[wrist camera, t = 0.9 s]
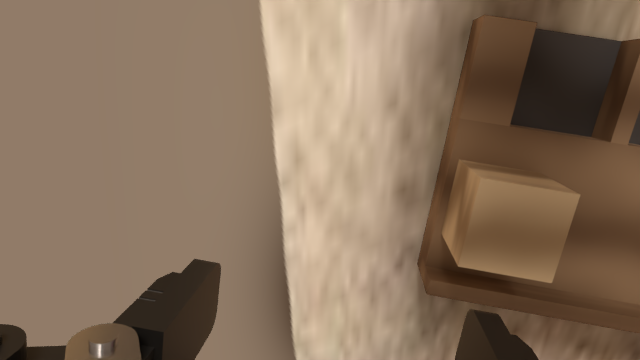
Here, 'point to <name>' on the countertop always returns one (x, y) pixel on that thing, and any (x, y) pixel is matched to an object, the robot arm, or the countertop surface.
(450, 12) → the countertop surface
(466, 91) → the box
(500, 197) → the maple block
